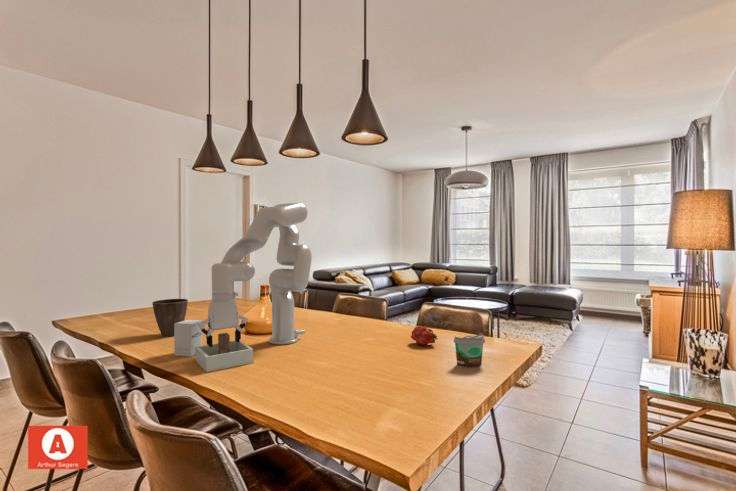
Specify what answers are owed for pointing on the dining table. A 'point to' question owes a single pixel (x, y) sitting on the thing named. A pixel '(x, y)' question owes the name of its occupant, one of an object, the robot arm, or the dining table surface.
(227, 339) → the walnut timber post
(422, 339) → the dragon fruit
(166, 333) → the plant pot
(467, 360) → the food container
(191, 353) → the supplement box
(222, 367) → the pale green tray
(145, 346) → the dining table surface
